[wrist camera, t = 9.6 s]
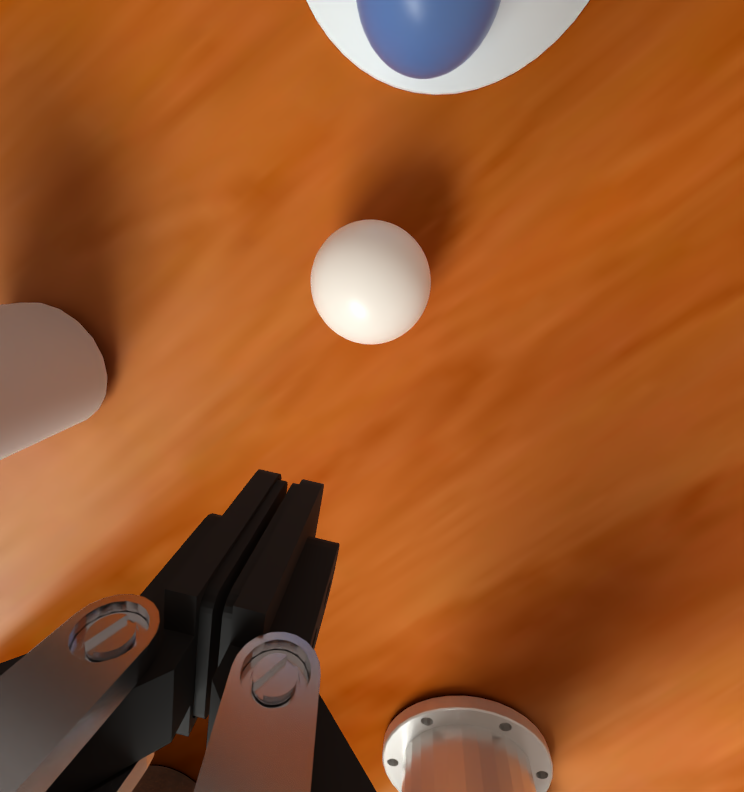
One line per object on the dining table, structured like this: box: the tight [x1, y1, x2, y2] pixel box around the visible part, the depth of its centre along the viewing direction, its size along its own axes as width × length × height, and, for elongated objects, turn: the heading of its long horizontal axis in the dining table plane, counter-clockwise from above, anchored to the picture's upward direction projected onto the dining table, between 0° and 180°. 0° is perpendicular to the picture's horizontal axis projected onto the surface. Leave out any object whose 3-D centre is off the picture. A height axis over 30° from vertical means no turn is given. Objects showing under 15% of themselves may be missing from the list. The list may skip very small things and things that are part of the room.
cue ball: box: [311, 219, 431, 344], centre depth 19 cm, size 6×6×6 cm
